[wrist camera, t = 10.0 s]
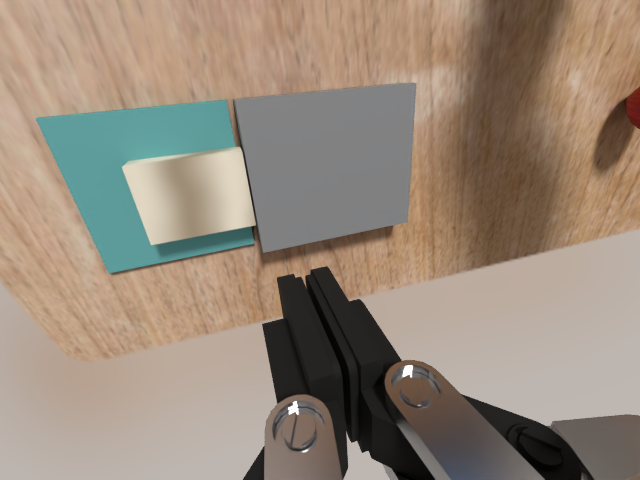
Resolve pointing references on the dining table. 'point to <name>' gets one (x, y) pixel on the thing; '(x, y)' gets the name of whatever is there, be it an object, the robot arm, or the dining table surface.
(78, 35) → the dining table surface
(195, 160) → the birch tile
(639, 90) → the onion
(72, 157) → the teal mat
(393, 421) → the robot arm
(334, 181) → the grey flat slab
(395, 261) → the dining table surface
